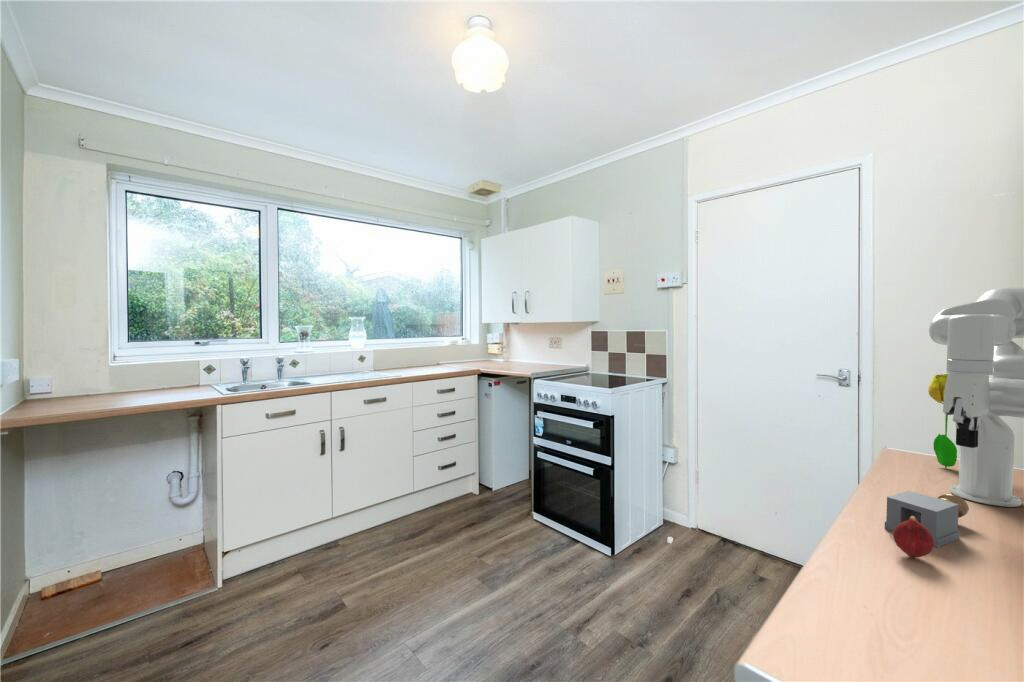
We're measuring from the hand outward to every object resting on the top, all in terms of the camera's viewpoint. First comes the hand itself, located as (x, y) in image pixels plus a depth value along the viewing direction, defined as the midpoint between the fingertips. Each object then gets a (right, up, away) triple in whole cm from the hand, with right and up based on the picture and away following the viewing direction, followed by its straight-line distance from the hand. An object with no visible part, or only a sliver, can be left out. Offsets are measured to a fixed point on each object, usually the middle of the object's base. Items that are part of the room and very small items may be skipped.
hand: (966, 446), depth 101 cm
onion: (-28, -18, -17) cm, 38 cm away
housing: (-17, -17, -7) cm, 26 cm away
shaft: (-10, -16, -4) cm, 19 cm away
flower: (+31, -16, +36) cm, 50 cm away
